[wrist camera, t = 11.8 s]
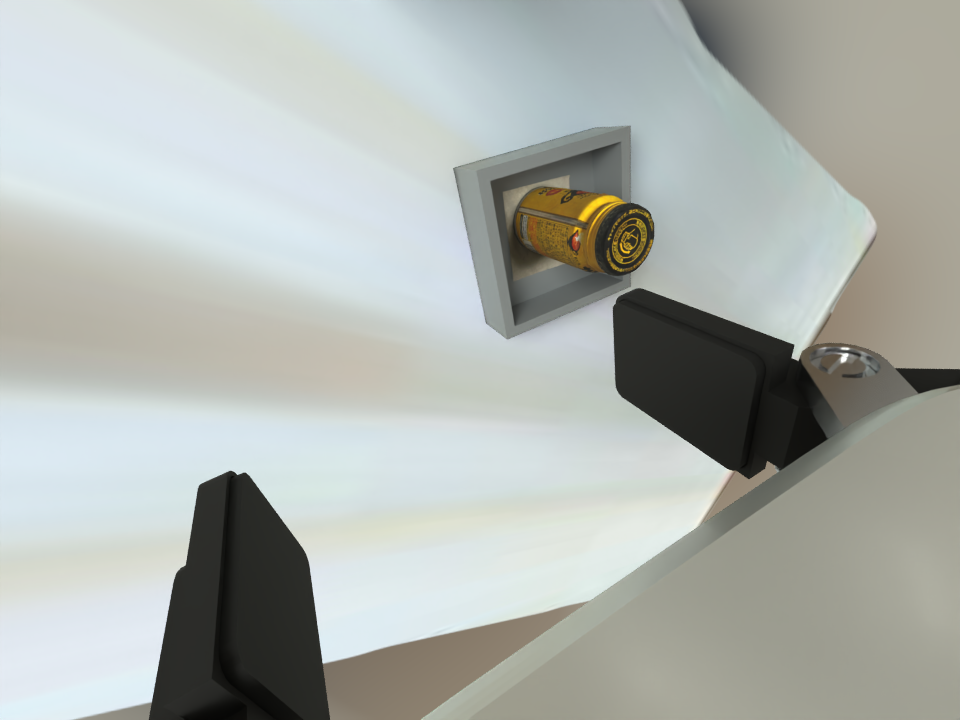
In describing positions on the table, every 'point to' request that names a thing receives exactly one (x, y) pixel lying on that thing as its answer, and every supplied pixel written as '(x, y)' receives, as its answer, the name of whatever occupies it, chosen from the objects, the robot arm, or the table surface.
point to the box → (506, 303)
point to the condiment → (574, 230)
